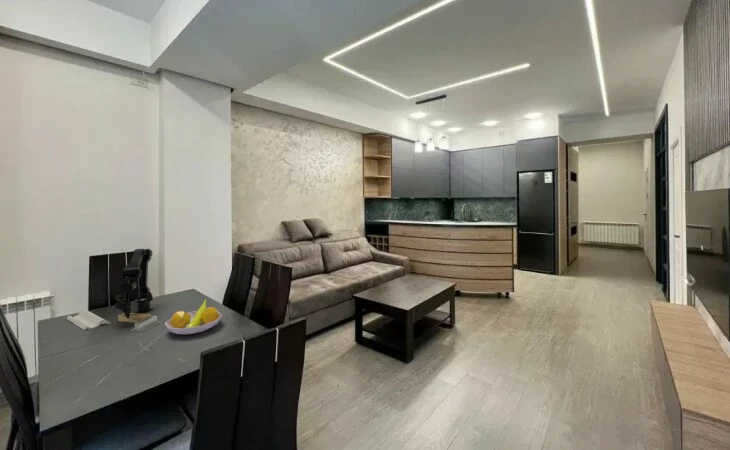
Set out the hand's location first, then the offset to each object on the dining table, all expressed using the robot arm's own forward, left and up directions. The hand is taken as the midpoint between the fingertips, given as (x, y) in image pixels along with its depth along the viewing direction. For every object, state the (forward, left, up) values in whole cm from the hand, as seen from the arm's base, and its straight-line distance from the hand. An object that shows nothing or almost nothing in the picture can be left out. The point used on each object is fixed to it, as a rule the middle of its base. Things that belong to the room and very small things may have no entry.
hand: (134, 315), depth 177 cm
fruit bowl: (+7, +42, -4) cm, 43 cm away
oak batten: (0, 0, -4) cm, 4 cm away
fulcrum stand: (+7, +13, -4) cm, 15 cm away
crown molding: (+2, -28, -4) cm, 28 cm away
